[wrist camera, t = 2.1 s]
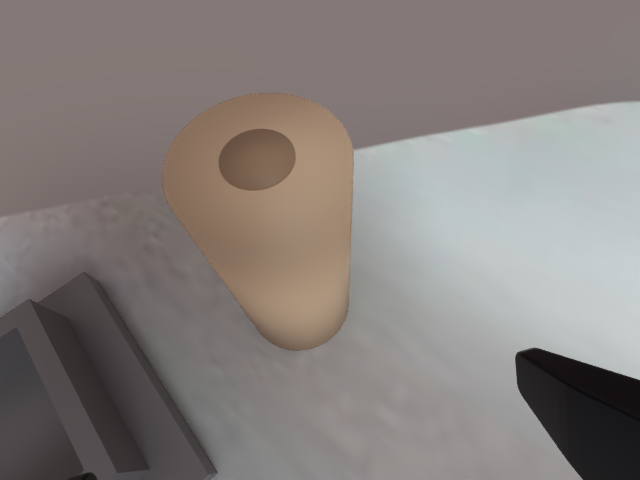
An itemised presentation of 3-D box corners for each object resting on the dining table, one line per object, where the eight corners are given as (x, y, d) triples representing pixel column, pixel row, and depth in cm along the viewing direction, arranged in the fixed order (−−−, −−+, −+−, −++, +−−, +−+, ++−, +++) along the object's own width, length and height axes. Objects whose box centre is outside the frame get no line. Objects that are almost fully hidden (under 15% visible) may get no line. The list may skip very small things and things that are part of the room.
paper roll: (328, 365, 21) (311, 269, 10) (233, 329, 23) (121, 207, 11) (361, 273, 24) (378, 112, 13) (274, 245, 25) (217, 76, 14)
